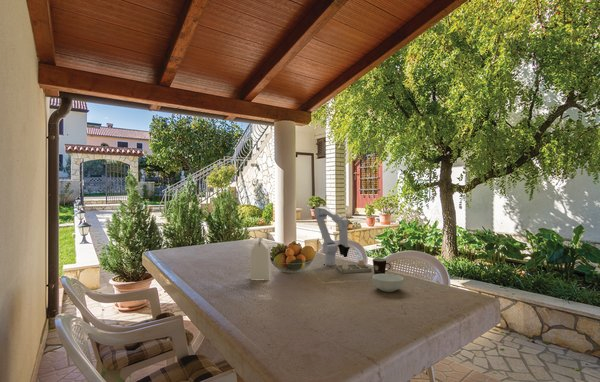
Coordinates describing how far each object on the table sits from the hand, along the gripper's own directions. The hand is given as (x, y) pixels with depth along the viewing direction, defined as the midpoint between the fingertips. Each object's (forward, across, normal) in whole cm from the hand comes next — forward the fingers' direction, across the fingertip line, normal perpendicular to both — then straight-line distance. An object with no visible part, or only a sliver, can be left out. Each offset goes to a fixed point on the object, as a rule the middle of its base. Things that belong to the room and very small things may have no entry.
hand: (343, 255), depth 228 cm
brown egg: (+8, +3, +12) cm, 15 cm away
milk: (+10, +10, -57) cm, 59 cm away
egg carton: (+9, +6, +5) cm, 12 cm away
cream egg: (+8, +9, -2) cm, 13 cm away
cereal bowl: (+10, +49, +10) cm, 51 cm away
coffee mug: (+10, +21, +18) cm, 29 cm away
